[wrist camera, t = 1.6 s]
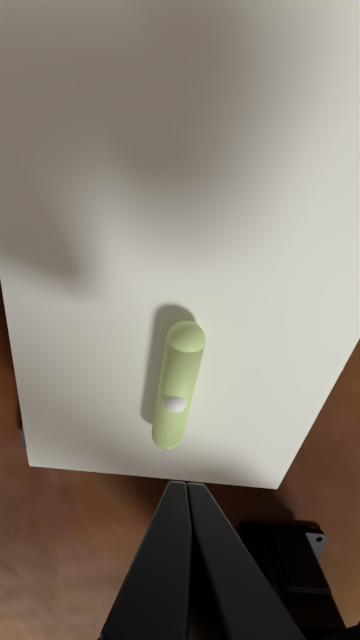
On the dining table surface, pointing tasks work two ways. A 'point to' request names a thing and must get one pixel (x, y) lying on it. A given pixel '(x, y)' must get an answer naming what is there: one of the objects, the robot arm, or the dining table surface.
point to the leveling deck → (178, 229)
